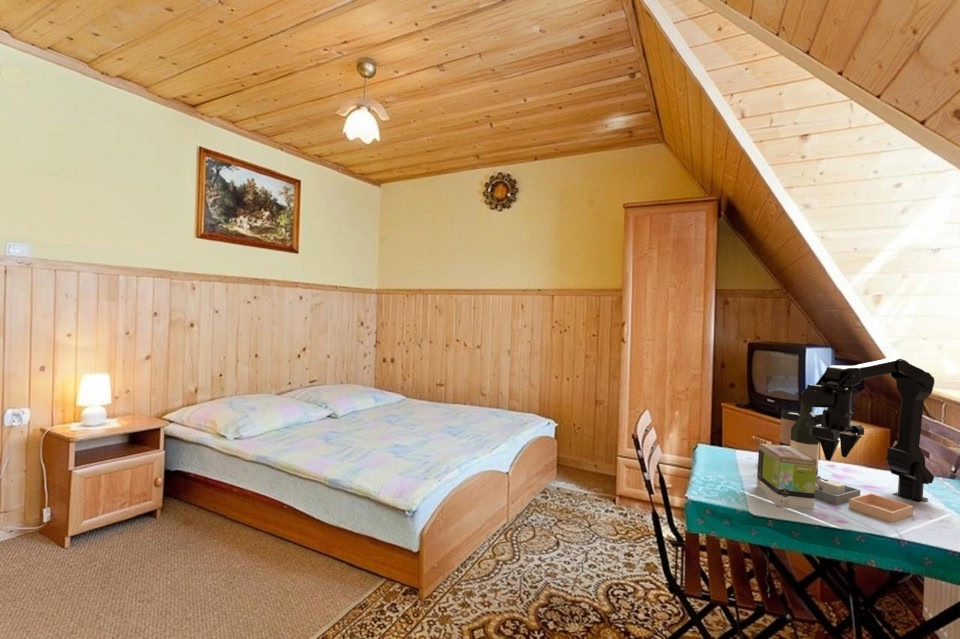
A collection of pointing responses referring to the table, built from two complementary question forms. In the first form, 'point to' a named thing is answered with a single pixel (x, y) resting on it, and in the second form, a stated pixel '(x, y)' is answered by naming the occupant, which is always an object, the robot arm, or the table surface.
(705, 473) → the table surface
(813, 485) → the tea box
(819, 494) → the bin
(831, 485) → the beige cube
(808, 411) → the wine bottle
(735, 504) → the table surface
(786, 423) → the travel mug
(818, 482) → the cream glossy ball
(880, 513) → the bin
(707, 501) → the table surface
